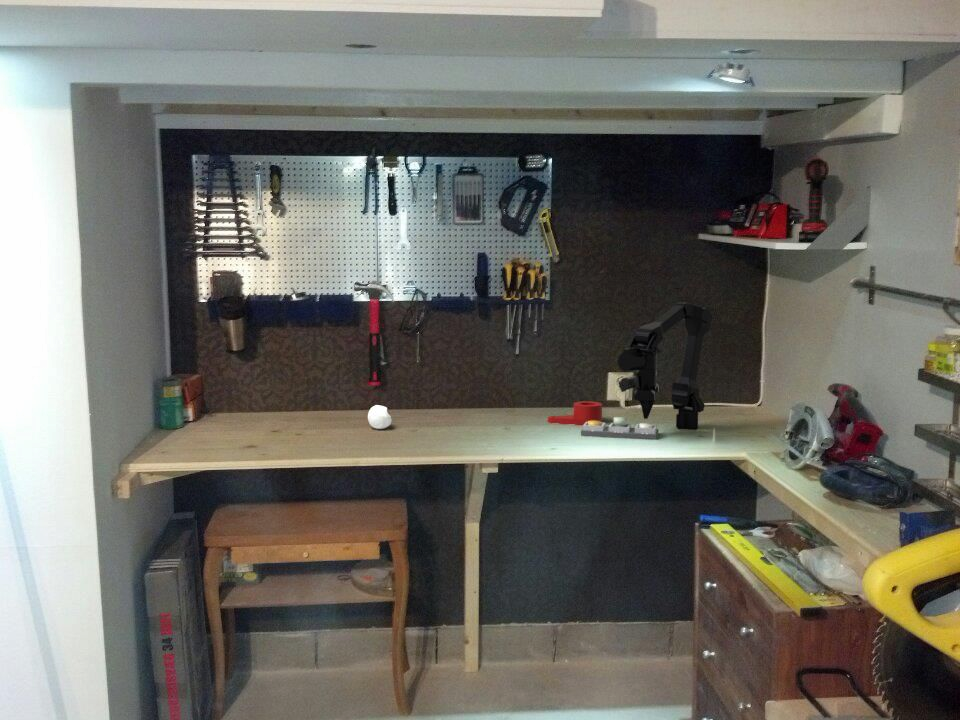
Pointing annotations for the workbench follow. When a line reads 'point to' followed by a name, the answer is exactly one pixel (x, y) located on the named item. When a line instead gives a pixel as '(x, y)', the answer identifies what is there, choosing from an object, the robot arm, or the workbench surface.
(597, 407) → the lever
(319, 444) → the workbench surface
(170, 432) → the workbench surface
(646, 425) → the button white
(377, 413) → the white rounded piece
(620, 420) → the button sage
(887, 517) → the workbench surface
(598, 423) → the button amber
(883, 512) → the workbench surface
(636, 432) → the control board
